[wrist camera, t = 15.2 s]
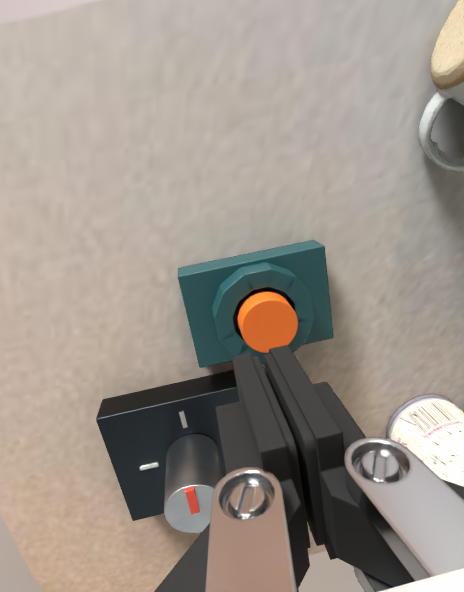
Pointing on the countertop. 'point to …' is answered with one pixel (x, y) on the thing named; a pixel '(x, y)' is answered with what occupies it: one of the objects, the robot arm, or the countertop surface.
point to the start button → (267, 321)
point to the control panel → (159, 433)
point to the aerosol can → (432, 434)
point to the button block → (247, 281)
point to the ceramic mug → (445, 84)
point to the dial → (191, 482)
